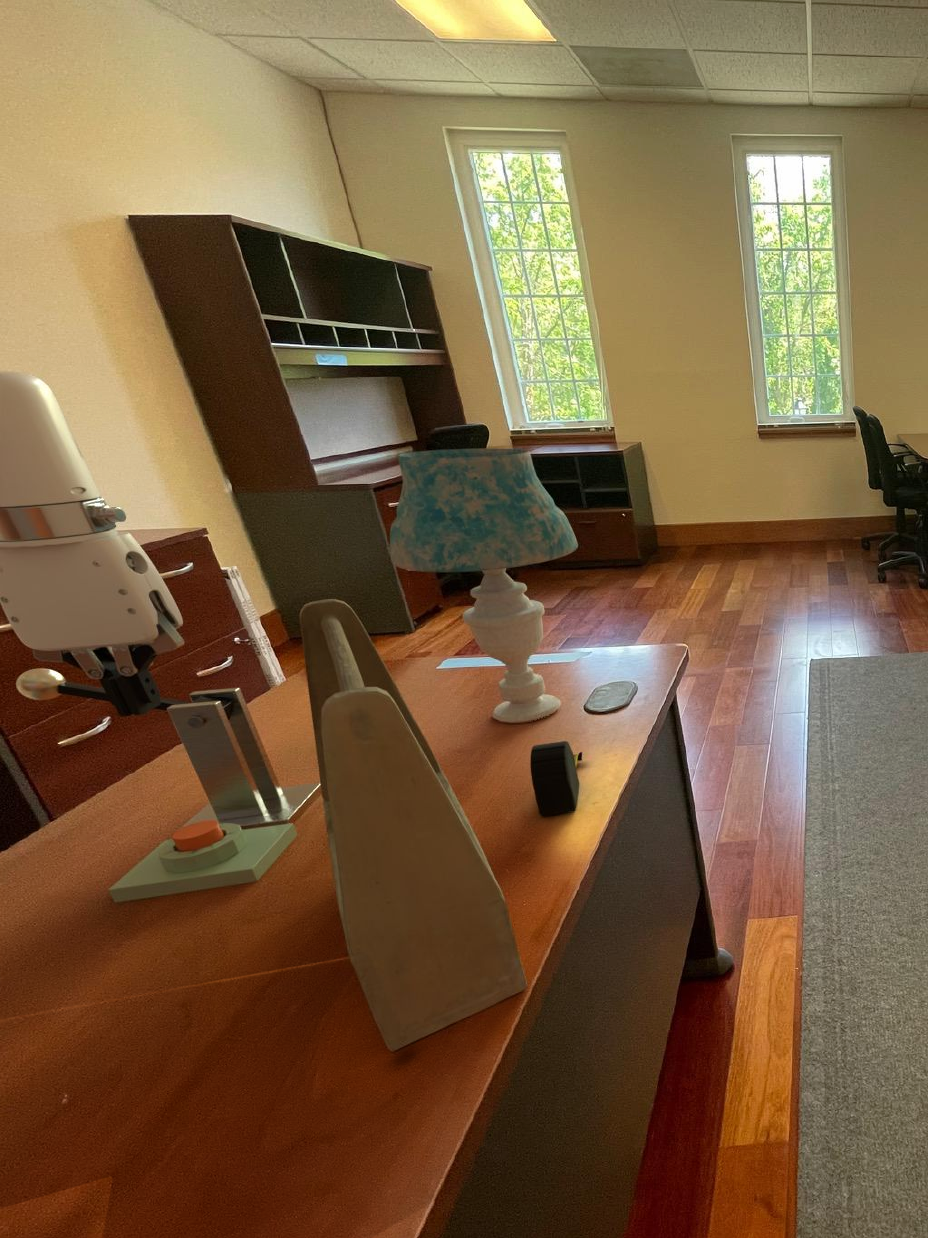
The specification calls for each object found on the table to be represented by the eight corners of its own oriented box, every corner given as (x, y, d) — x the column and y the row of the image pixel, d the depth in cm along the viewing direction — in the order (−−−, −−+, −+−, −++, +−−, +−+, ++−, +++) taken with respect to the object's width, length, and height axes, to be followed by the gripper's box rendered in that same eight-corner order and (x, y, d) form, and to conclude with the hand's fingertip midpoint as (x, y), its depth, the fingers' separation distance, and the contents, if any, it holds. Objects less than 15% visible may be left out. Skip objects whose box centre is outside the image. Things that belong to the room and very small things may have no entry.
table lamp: (456, 695, 121) (386, 448, 105) (607, 676, 130) (563, 444, 114) (426, 757, 101) (335, 463, 85) (607, 729, 110) (555, 457, 94)
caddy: (533, 989, 63) (444, 672, 51) (386, 1057, 56) (244, 713, 44) (464, 841, 83) (388, 590, 71) (350, 879, 76) (245, 609, 64)
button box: (114, 903, 72) (99, 875, 71) (171, 852, 80) (157, 826, 79) (257, 881, 76) (245, 854, 74) (298, 835, 84) (287, 809, 82)
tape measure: (576, 814, 88) (564, 757, 85) (537, 820, 87) (523, 763, 84) (583, 760, 101) (573, 709, 97) (549, 765, 99) (537, 714, 96)
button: (170, 855, 75) (163, 841, 74) (191, 836, 78) (184, 823, 77) (212, 849, 76) (206, 836, 75) (231, 831, 79) (225, 817, 78)
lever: (6, 701, 74) (6, 671, 74) (32, 689, 77) (32, 660, 77) (216, 733, 81) (218, 707, 80) (233, 721, 84) (235, 695, 83)
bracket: (176, 843, 82) (115, 719, 76) (221, 803, 90) (169, 688, 83) (291, 827, 85) (241, 707, 79) (324, 790, 93) (282, 678, 86)
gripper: (179, 512, 68) (253, 687, 76) (-25, 520, 64) (74, 705, 72) (125, 525, 62) (212, 715, 69) (-106, 536, 58) (12, 737, 65)
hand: (141, 709), depth 70 cm, fingers closed
